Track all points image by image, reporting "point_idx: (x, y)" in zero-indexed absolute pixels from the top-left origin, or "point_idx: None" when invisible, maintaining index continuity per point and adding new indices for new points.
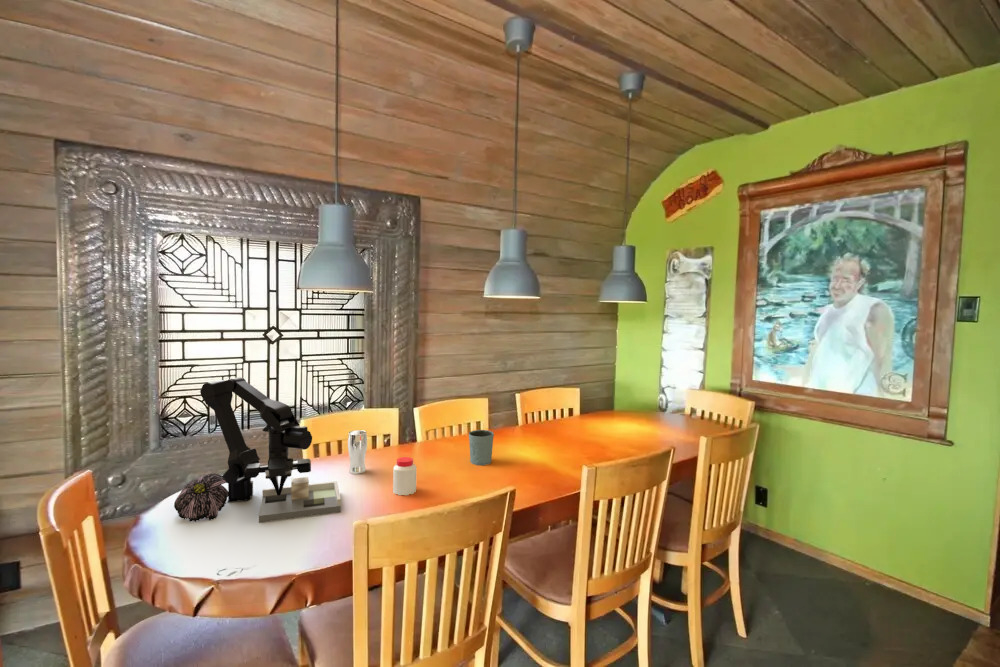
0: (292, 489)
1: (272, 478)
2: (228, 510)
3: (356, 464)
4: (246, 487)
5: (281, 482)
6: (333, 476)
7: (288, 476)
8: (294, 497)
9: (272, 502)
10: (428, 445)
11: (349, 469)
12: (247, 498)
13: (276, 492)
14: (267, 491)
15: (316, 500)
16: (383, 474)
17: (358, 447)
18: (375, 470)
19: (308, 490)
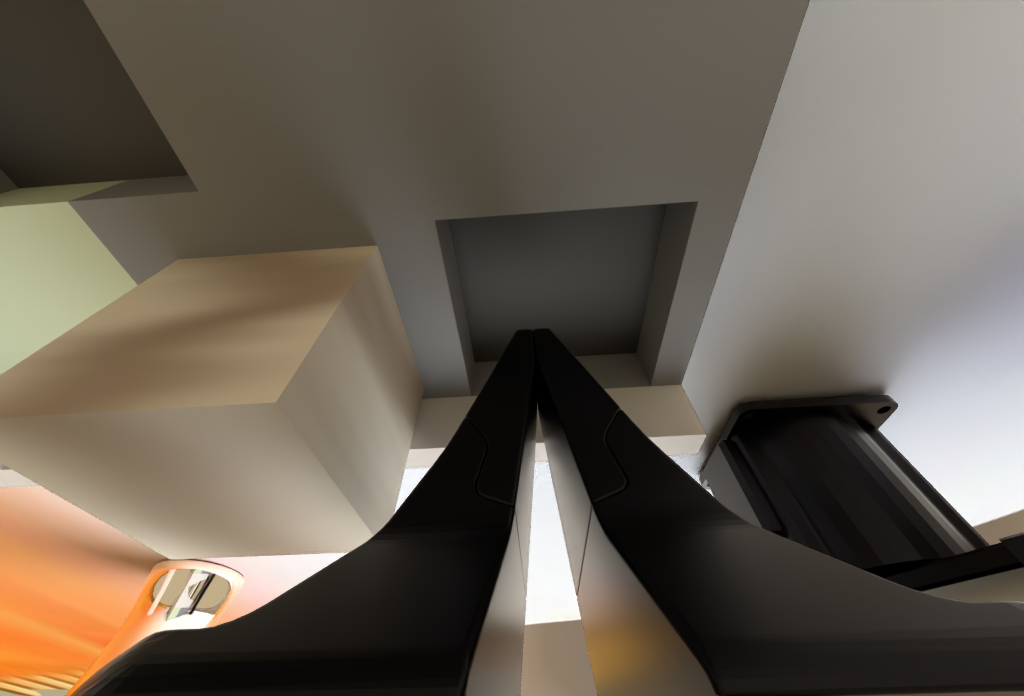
0: (307, 325)
1: (786, 592)
2: (973, 257)
3: (150, 620)
4: (806, 500)
5: (492, 466)
6: (295, 554)
7: (196, 634)
8: (332, 259)
9: (586, 322)
10: (68, 655)
11: (226, 588)
12: (759, 413)
13: (565, 346)
14: (650, 422)
15: (61, 197)
16: (16, 544)
17: None
18: (110, 571)
19: (96, 313)
